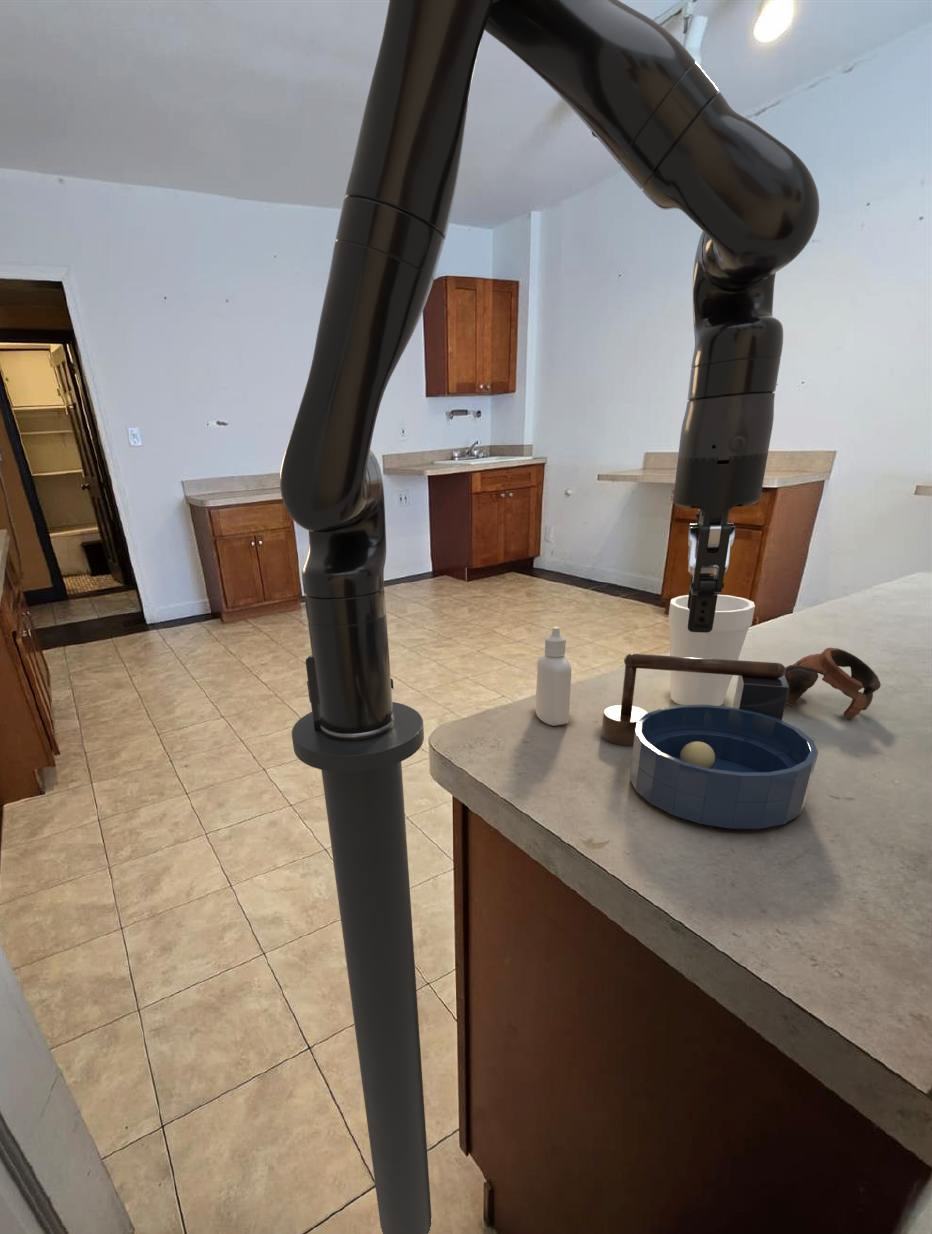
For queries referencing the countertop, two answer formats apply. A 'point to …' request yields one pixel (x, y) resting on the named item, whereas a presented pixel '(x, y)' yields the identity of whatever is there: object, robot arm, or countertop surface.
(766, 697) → the dark navy cube
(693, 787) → the bowl
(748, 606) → the foam cup
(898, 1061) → the countertop surface
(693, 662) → the ladle
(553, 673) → the eye dropper bottle
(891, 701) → the countertop surface
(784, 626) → the countertop surface
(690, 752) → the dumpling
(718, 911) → the countertop surface
